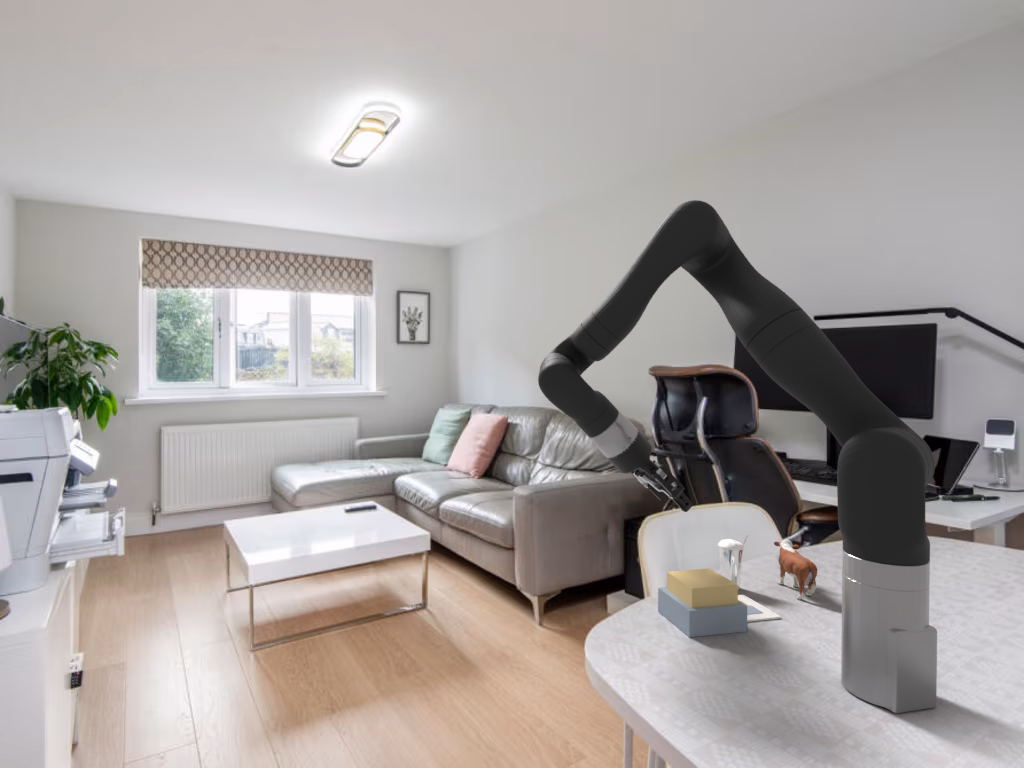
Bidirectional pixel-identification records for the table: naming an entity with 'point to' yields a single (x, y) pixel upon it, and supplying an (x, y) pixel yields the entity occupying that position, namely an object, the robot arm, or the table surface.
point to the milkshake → (731, 559)
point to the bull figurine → (796, 568)
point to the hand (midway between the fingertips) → (676, 502)
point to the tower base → (702, 616)
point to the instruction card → (757, 610)
